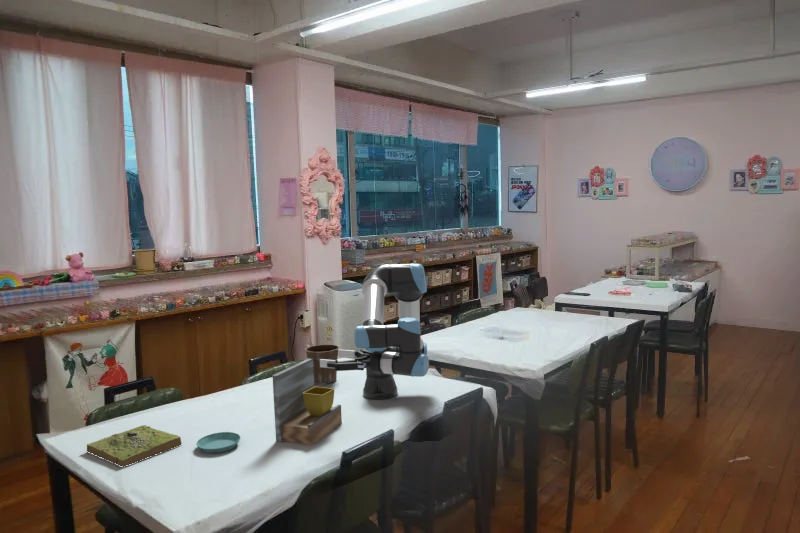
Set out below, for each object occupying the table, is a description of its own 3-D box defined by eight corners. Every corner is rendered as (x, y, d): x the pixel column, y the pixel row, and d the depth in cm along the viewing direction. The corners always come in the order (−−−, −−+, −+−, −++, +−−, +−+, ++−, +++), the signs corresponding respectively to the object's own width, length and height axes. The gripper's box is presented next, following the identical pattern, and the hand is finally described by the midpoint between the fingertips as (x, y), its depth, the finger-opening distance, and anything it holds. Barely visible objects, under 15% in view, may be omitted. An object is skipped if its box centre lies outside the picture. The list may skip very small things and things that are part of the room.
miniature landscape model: (122, 470, 188) (121, 455, 188) (86, 454, 202) (85, 440, 202) (182, 446, 206) (181, 433, 206) (145, 433, 220) (144, 420, 219)
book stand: (343, 422, 223) (340, 361, 221) (310, 446, 201) (306, 378, 199) (311, 418, 228) (308, 358, 226) (276, 441, 206) (272, 375, 204)
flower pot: (316, 409, 221) (315, 385, 220) (336, 411, 218) (335, 388, 217) (303, 416, 213) (302, 392, 212) (323, 419, 210) (322, 395, 209)
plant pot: (307, 377, 286) (305, 345, 285) (340, 375, 288) (339, 343, 286) (305, 386, 270) (304, 352, 269) (340, 384, 272) (339, 350, 270)
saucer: (195, 443, 208) (194, 436, 207) (237, 436, 213) (237, 429, 213) (198, 459, 194) (198, 451, 194) (243, 450, 200) (243, 443, 199)
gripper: (369, 383, 189) (312, 378, 197) (398, 363, 212) (346, 359, 220) (368, 361, 188) (311, 356, 196) (397, 343, 211) (345, 339, 219)
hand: (329, 358), depth 208 cm, fingers open, 13 cm apart
